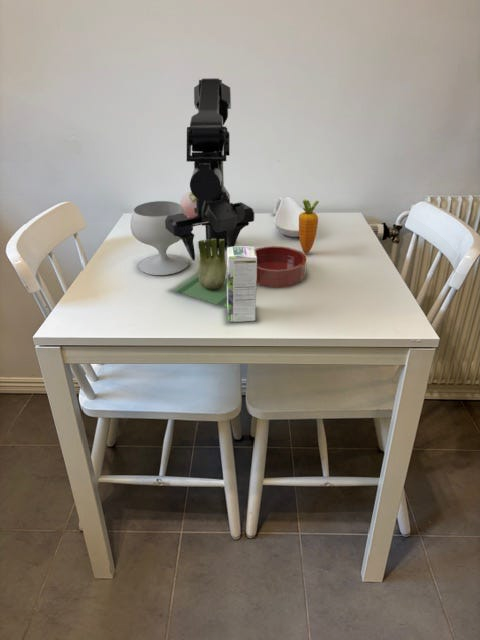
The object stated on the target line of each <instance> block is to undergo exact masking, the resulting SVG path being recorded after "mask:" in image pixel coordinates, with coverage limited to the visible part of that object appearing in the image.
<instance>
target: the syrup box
mask: <svg viewBox="0 0 480 640" xmlns="http://www.w3.org/2000/svg"><path fill="white" fill-rule="evenodd" d="M255 249H256V248H255V246H248V245H235V246H234V247H228V246H227V247H226V279H227V307H226V312H227V322H228V323H239V322H254V321H256V315H257V314H256V313H257V309H256V308H257V284H256V282H257V256H256V251H255Z"/></svg>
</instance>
